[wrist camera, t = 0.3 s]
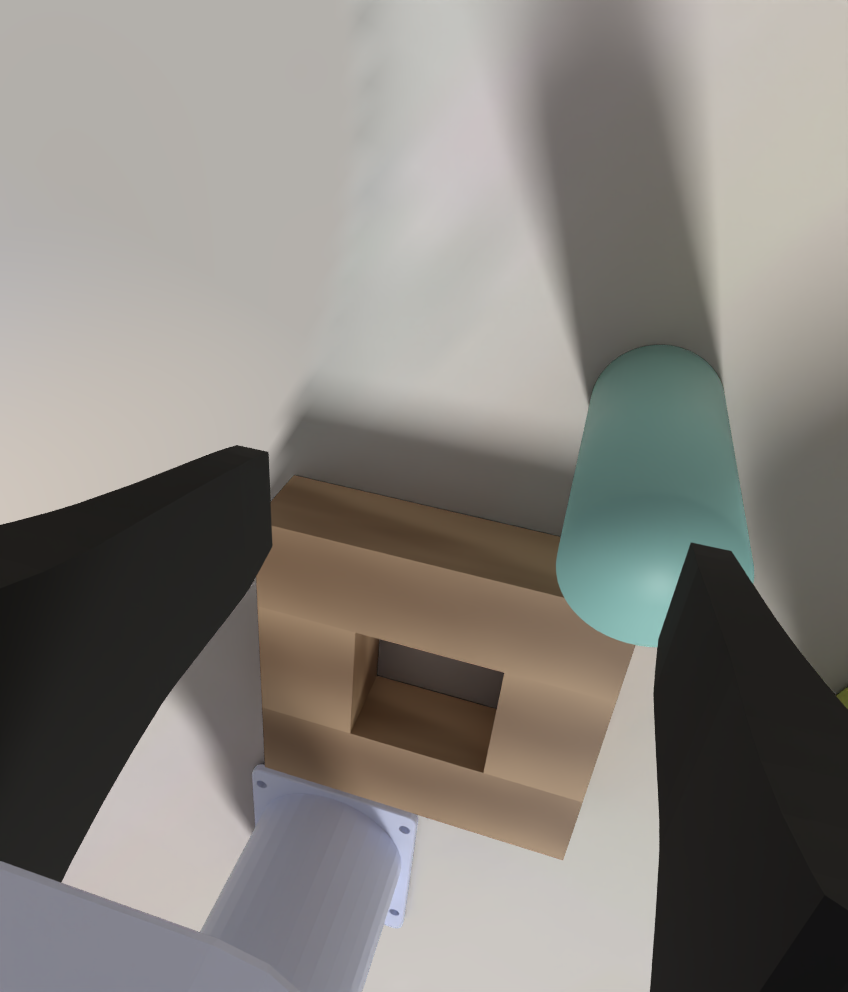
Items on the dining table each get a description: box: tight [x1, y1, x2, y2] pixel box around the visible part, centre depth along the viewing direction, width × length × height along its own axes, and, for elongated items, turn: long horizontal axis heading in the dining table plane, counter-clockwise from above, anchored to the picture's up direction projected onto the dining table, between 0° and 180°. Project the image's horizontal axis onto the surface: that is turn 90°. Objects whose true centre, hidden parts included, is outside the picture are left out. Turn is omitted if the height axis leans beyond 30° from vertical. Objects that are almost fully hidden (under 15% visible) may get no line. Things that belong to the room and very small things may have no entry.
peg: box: [556, 345, 754, 647], centre depth 17 cm, size 4×4×8 cm
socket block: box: [256, 475, 635, 860], centre depth 26 cm, size 12×12×3 cm
